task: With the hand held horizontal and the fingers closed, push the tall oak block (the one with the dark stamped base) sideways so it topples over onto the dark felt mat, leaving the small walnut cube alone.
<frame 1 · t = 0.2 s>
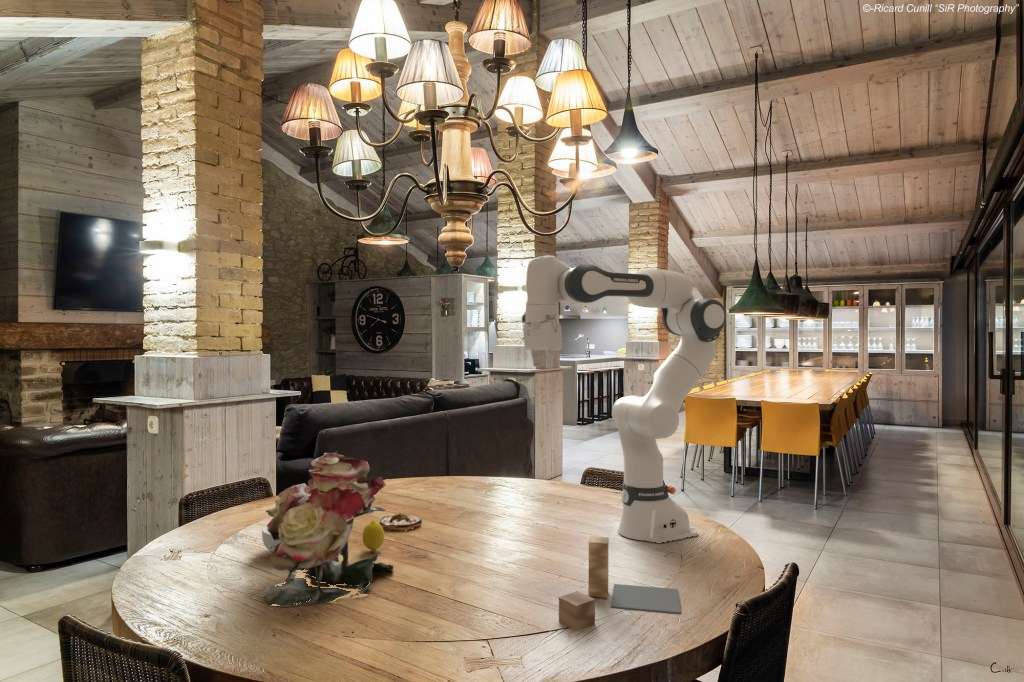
hand: (542, 367, 170), 48 cm above the table, tool pointing down, fingers open, 8 cm apart
cereal bowl: (296, 553, 164), on the table
walnut cube: (576, 623, 124), on the table
felt mat: (645, 598, 135), on the table
lemon: (373, 552, 165), on the table
oak block: (598, 594, 137), on the table
sushi roll: (400, 527, 188), on the table
rose bouquet: (323, 587, 142), on the table
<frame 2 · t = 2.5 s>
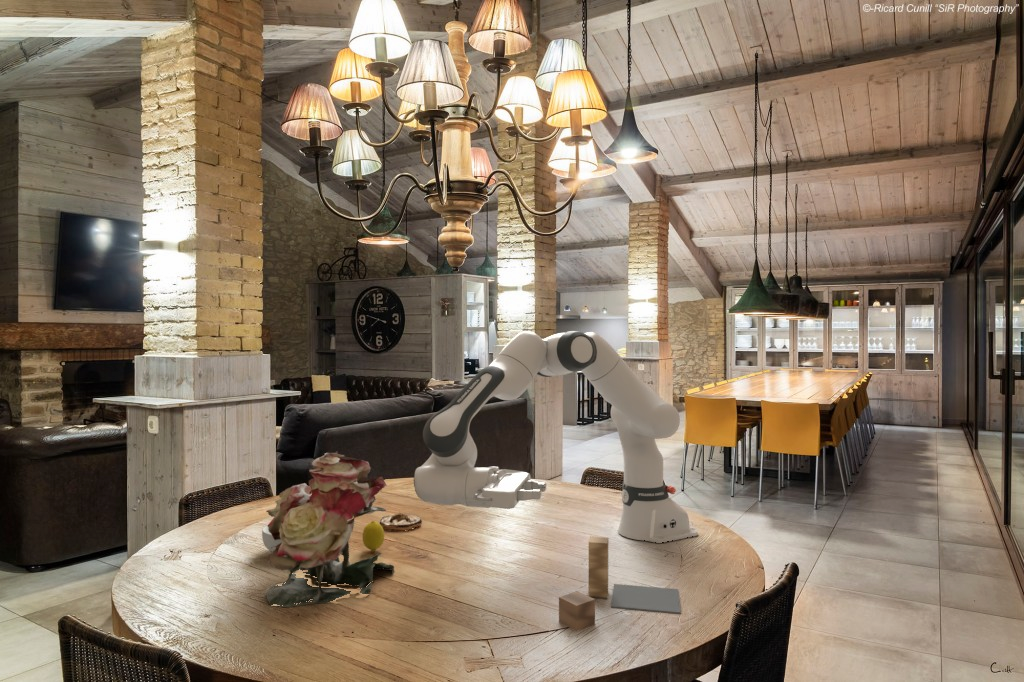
hand: (543, 490, 140), 22 cm above the table, tool horizontal, fingers open, 5 cm apart
nothing on the table moved.
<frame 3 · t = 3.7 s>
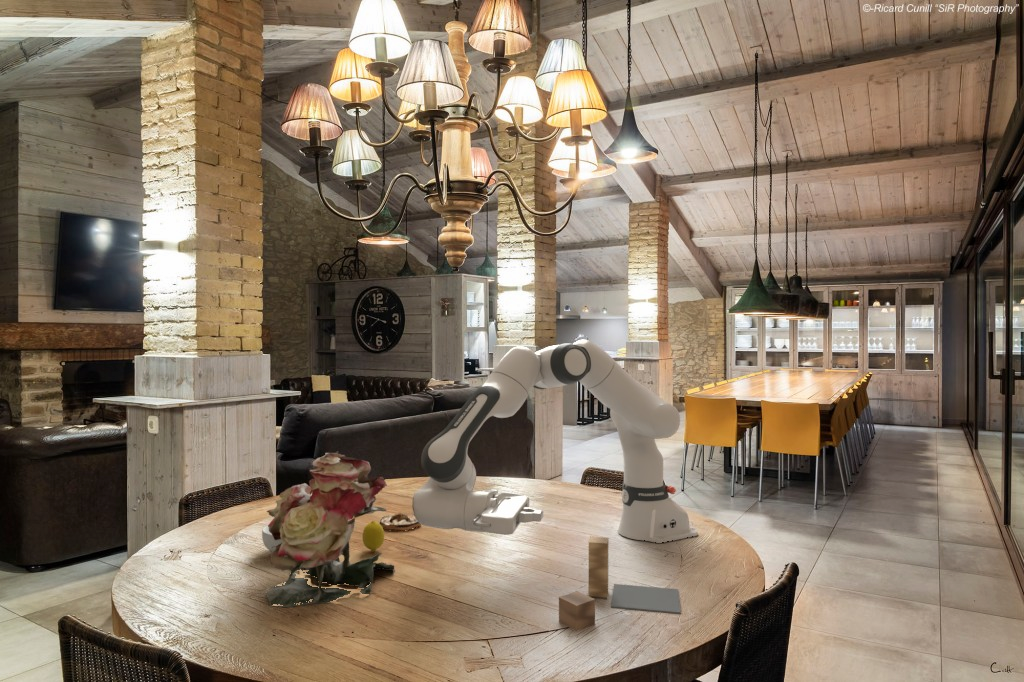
hand: (542, 516, 140), 16 cm above the table, tool horizontal, fingers closed
nothing on the table moved.
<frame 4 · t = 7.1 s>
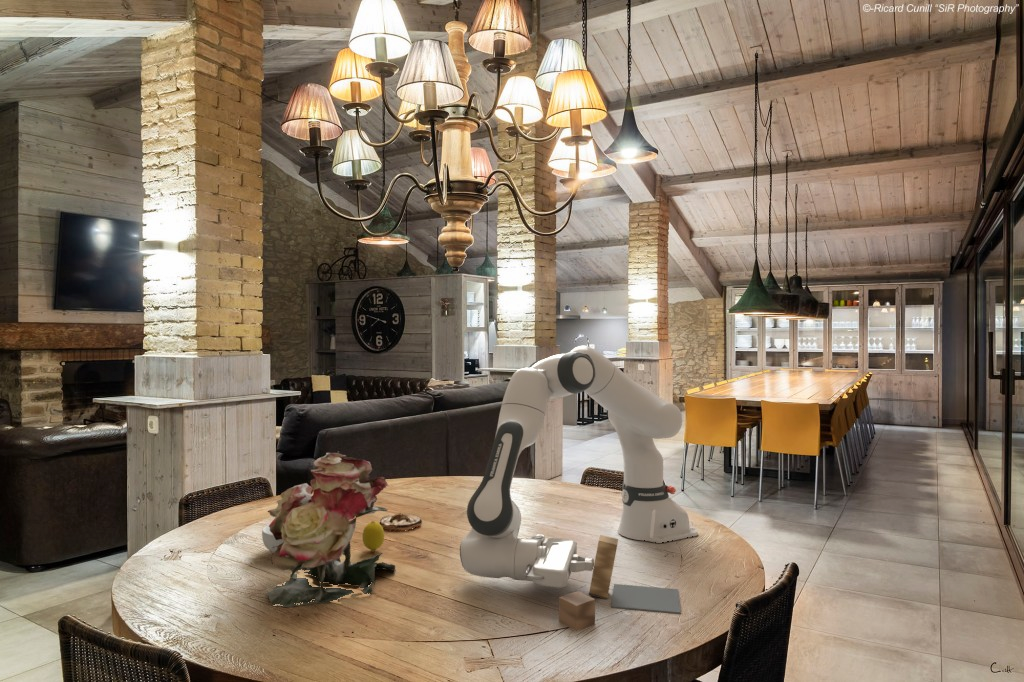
hand: (593, 564, 138), 6 cm above the table, tool horizontal, fingers closed, pressing on oak block
oak block: (598, 593, 137), on the table, tilted 10°, touching gripper
everything else where it was.
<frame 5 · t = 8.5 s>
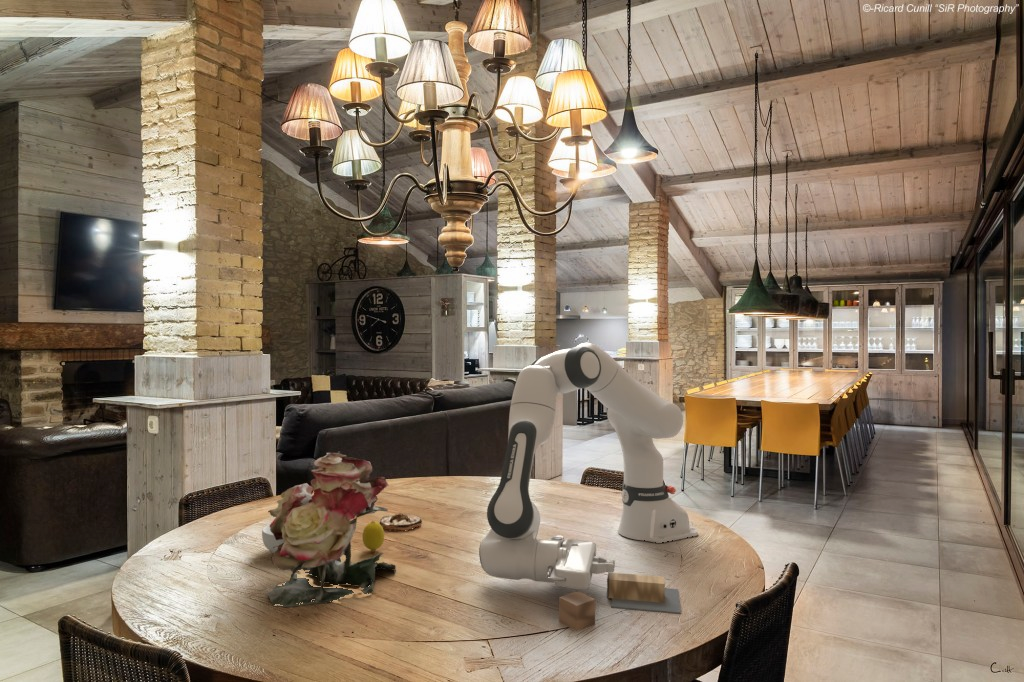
hand: (614, 566, 137), 6 cm above the table, tool horizontal, fingers closed
oak block: (607, 584, 137), point 2 cm above the table, tilted 90°, touching felt mat
everything else where it was.
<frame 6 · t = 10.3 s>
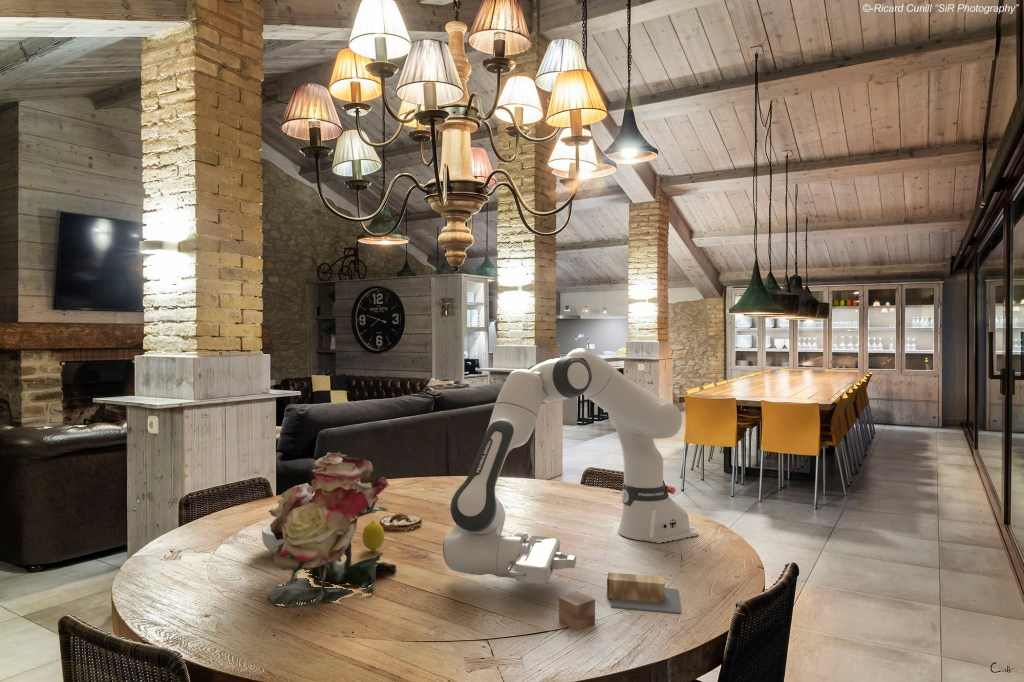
hand: (575, 562, 138), 7 cm above the table, tool horizontal, fingers closed
nothing on the table moved.
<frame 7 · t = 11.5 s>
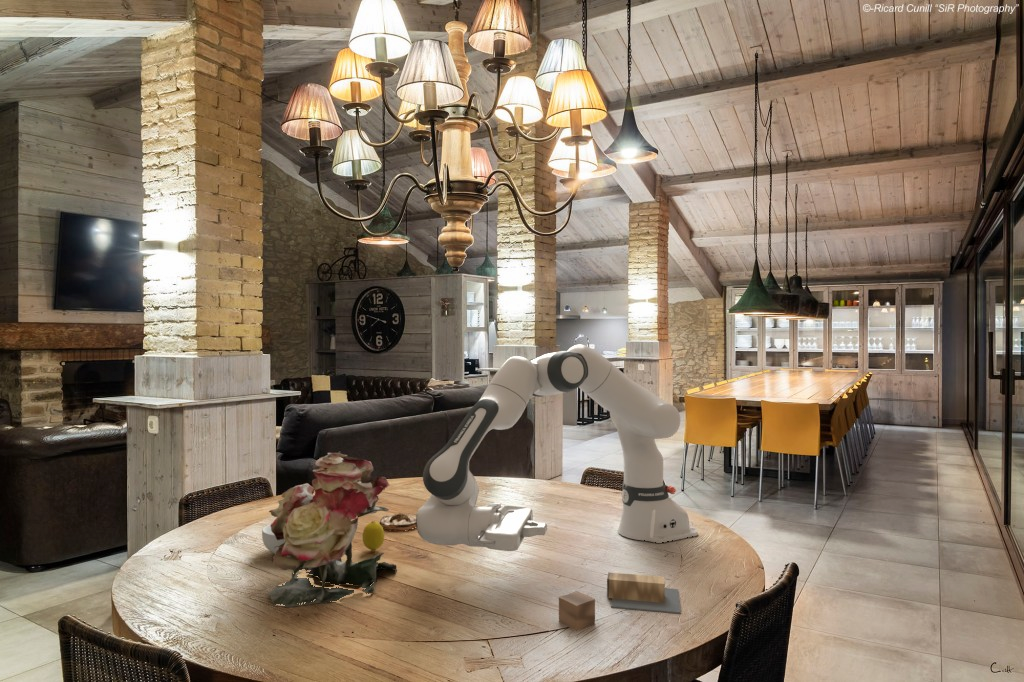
hand: (546, 529, 140), 13 cm above the table, tool horizontal, fingers closed
nothing on the table moved.
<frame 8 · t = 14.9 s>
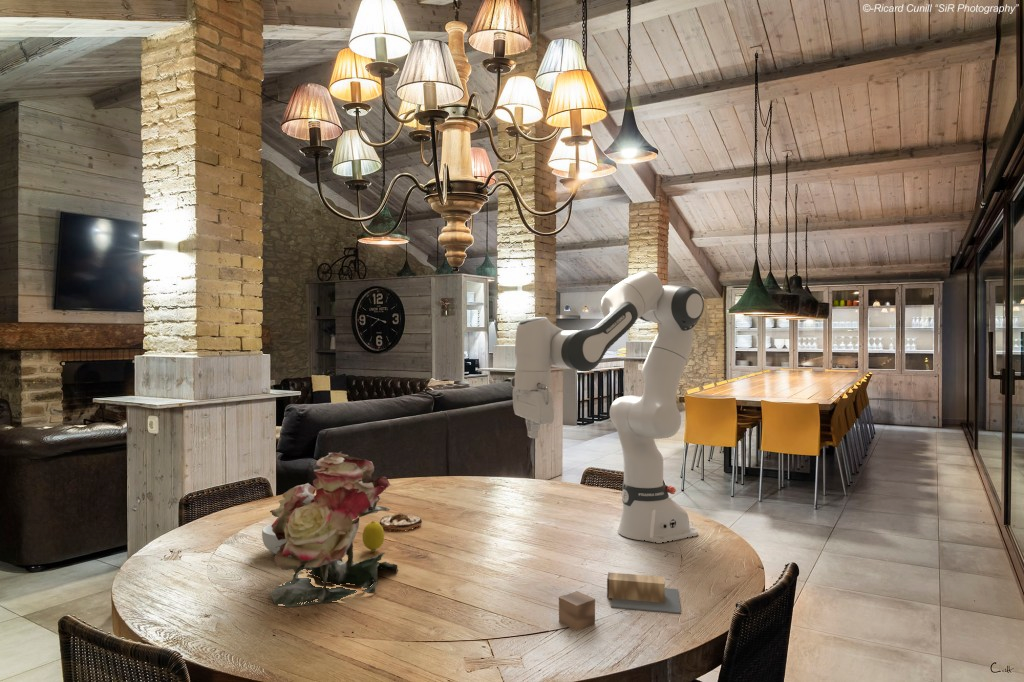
hand: (532, 437, 157), 31 cm above the table, tool pointing down, fingers closed
at the end: oak block tilted 90°; oak block 8.1 cm from the felt mat (horizontally); walnut cube moved 0.1 cm from its start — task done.
